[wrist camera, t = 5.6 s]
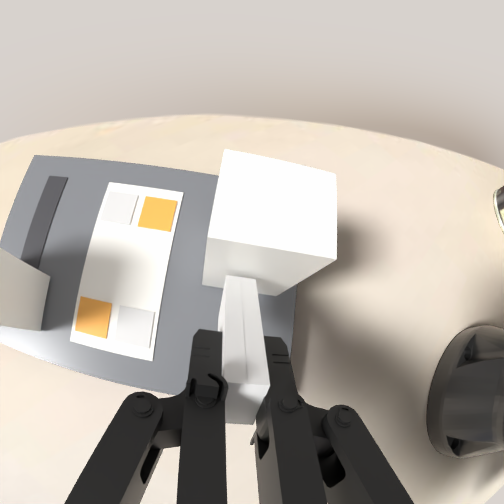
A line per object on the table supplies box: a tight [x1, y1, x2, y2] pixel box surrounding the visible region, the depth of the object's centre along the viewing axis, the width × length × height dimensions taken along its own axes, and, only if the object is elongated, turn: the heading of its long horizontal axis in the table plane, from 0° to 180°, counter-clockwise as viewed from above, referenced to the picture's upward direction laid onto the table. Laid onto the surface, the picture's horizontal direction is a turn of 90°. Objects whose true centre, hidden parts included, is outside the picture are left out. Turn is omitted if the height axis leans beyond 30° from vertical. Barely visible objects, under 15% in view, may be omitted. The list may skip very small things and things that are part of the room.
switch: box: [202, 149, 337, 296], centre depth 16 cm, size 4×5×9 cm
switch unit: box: [0, 155, 297, 395], centre depth 19 cm, size 16×24×2 cm, turn 84°
